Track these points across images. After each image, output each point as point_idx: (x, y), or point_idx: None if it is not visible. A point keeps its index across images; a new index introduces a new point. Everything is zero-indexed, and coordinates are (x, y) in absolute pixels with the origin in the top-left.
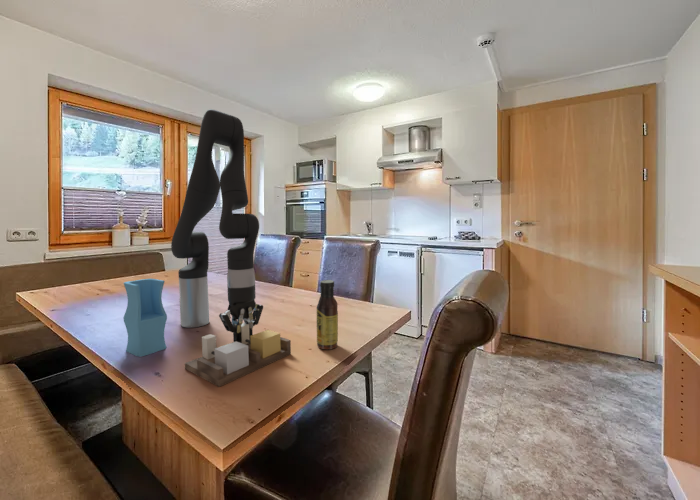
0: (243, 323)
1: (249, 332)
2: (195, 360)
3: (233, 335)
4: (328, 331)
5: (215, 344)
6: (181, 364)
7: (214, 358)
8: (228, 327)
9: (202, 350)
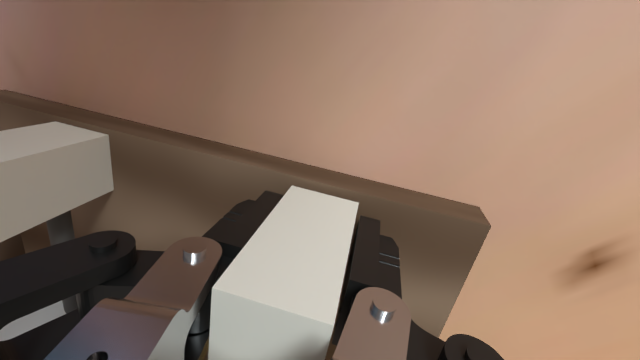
0: (311, 334)
1: (336, 319)
2: (14, 119)
3: (210, 231)
4: None
5: (26, 226)
6: (2, 15)
7: (92, 200)
8: (22, 335)
9: (6, 131)
